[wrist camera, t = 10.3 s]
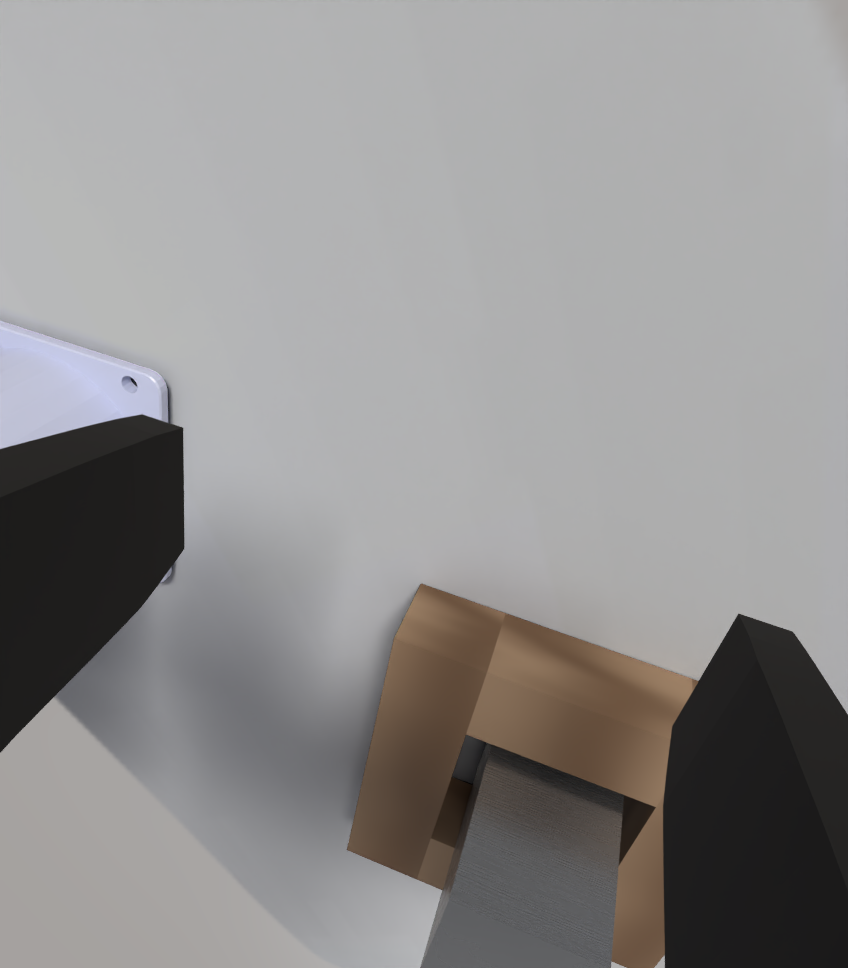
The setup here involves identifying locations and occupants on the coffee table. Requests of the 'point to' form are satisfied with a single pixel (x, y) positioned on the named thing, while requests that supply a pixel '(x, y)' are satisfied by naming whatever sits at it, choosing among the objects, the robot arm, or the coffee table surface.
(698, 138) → the coffee table surface
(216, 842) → the coffee table surface
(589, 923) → the peg
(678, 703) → the socket block
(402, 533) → the coffee table surface
